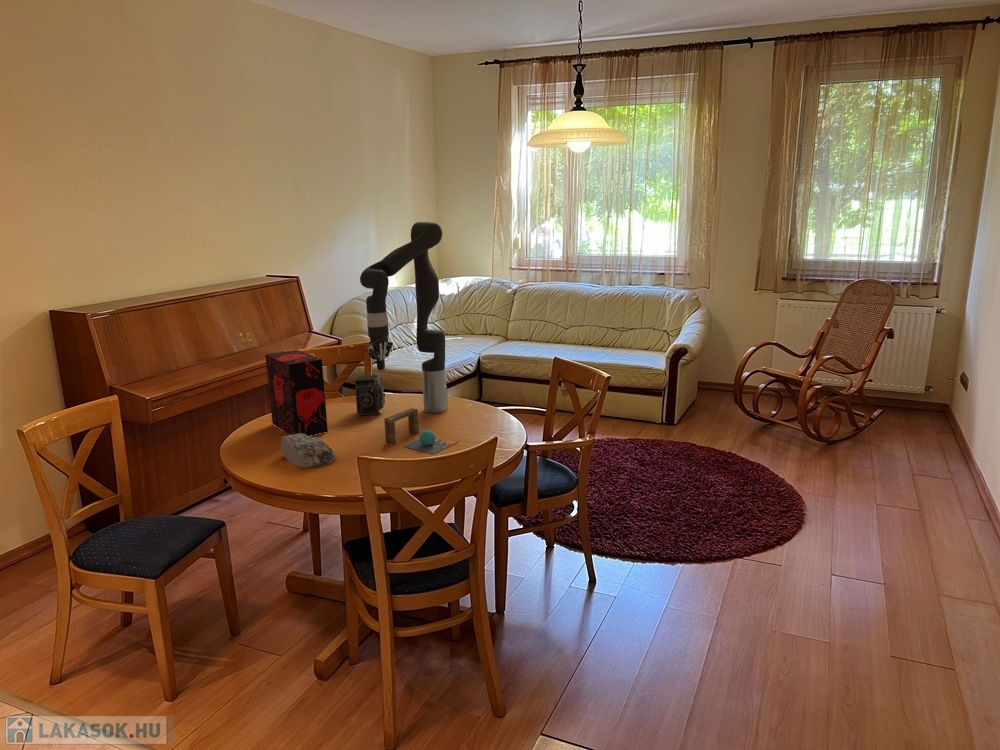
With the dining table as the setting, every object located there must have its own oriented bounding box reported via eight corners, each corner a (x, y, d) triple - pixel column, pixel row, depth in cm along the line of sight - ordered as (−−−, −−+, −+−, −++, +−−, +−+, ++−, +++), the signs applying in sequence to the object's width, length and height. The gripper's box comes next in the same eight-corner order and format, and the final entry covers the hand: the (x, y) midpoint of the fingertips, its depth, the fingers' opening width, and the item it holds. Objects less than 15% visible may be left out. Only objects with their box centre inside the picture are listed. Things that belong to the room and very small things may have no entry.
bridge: (385, 443, 246) (384, 418, 244) (412, 432, 258) (411, 408, 255) (392, 445, 244) (390, 419, 242) (418, 433, 256) (417, 409, 254)
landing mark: (427, 435, 253) (427, 435, 253) (458, 442, 246) (458, 441, 246) (402, 447, 242) (402, 446, 242) (434, 454, 234) (434, 453, 234)
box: (272, 424, 270) (265, 354, 263) (303, 418, 277) (296, 349, 270) (295, 439, 252) (288, 364, 245) (327, 432, 259) (321, 359, 253)
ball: (430, 424, 244) (440, 435, 241) (426, 435, 247) (436, 446, 245) (418, 429, 240) (428, 440, 238) (414, 440, 243) (424, 451, 241)
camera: (382, 416, 277) (380, 380, 274) (356, 416, 278) (353, 380, 274) (387, 409, 288) (385, 373, 284) (361, 409, 288) (359, 374, 284)
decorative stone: (274, 453, 234) (279, 425, 232) (309, 451, 244) (315, 424, 242) (302, 477, 221) (308, 447, 219) (338, 474, 231) (344, 445, 229)
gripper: (382, 319, 262) (385, 364, 266) (357, 326, 251) (361, 372, 256) (397, 321, 258) (400, 366, 262) (372, 328, 247) (376, 375, 252)
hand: (381, 369), depth 259 cm, fingers closed
